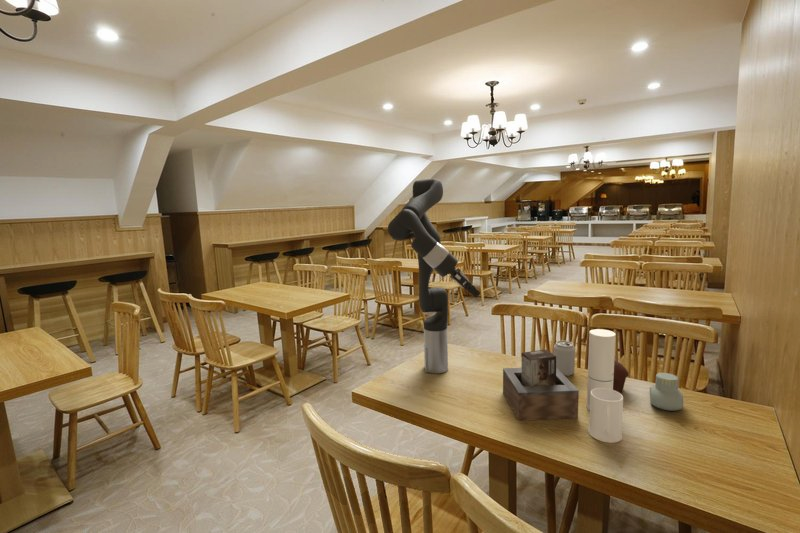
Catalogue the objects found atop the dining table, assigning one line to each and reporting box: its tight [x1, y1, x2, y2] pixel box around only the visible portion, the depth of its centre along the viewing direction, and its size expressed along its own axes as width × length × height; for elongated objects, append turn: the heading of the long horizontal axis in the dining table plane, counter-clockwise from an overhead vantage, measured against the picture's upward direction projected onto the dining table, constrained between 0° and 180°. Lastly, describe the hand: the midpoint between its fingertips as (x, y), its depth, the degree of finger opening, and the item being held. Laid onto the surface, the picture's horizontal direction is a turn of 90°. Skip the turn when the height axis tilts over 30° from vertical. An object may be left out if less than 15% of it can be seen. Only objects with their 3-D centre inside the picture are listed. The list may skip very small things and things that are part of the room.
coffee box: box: [521, 349, 556, 387], centre depth 129 cm, size 9×6×16 cm
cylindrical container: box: [586, 328, 616, 412], centre depth 124 cm, size 7×7×25 cm
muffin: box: [613, 359, 630, 394], centre depth 138 cm, size 12×11×10 cm
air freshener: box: [649, 372, 685, 412], centre depth 125 cm, size 11×8×10 cm
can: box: [553, 340, 576, 377], centre depth 152 cm, size 8×8×12 cm
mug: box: [587, 388, 624, 444], centre depth 110 cm, size 12×8×12 cm
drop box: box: [502, 367, 580, 422], centre depth 129 cm, size 18×18×9 cm
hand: (475, 292), depth 131 cm, fingers open, 8 cm apart
